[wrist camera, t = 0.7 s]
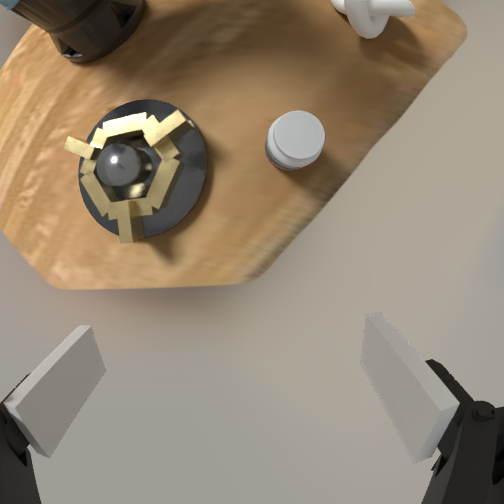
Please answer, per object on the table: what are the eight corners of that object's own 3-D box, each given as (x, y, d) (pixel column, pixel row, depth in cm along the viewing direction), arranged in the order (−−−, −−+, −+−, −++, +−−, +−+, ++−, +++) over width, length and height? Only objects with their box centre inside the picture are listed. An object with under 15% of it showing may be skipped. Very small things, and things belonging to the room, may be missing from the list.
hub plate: (69, 146, 33) (63, 145, 31) (175, 79, 31) (172, 75, 30) (114, 257, 37) (109, 260, 35) (230, 199, 35) (229, 200, 33)
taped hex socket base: (82, 134, 31) (63, 130, 27) (193, 110, 31) (184, 100, 26) (90, 241, 34) (72, 248, 30) (202, 230, 34) (194, 236, 30)
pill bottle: (298, 120, 33) (315, 96, 23) (317, 160, 34) (341, 151, 24) (256, 137, 33) (258, 118, 24) (276, 178, 34) (285, 174, 25)
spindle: (119, 161, 34) (91, 157, 26) (148, 144, 33) (124, 135, 26) (132, 191, 35) (105, 193, 27) (161, 175, 34) (139, 172, 27)
